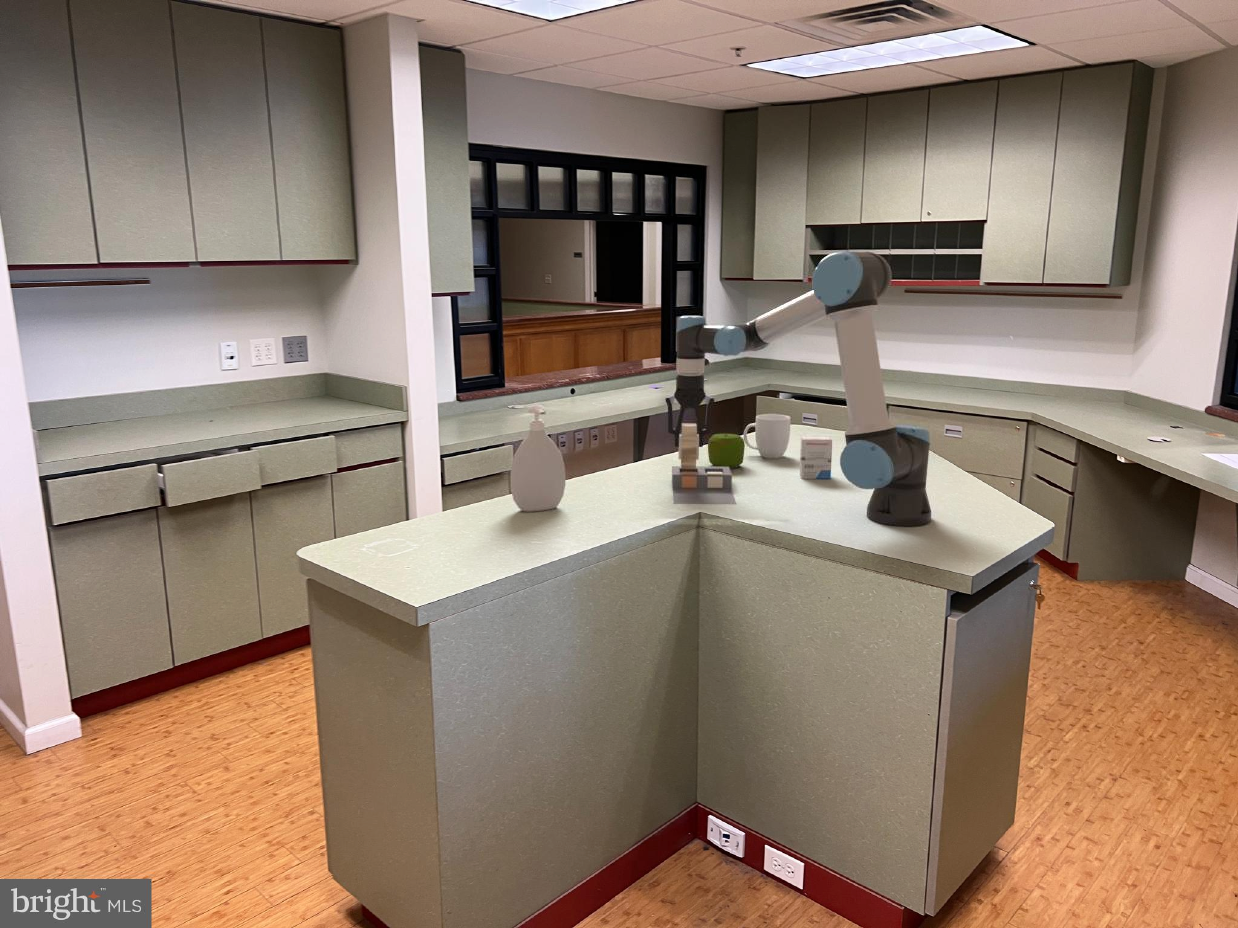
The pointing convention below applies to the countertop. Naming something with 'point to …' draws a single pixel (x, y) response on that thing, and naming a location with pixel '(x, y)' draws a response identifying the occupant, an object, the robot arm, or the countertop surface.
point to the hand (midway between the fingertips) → (688, 458)
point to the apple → (726, 450)
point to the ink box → (815, 457)
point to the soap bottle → (537, 469)
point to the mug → (770, 435)
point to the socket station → (702, 485)
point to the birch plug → (689, 446)
